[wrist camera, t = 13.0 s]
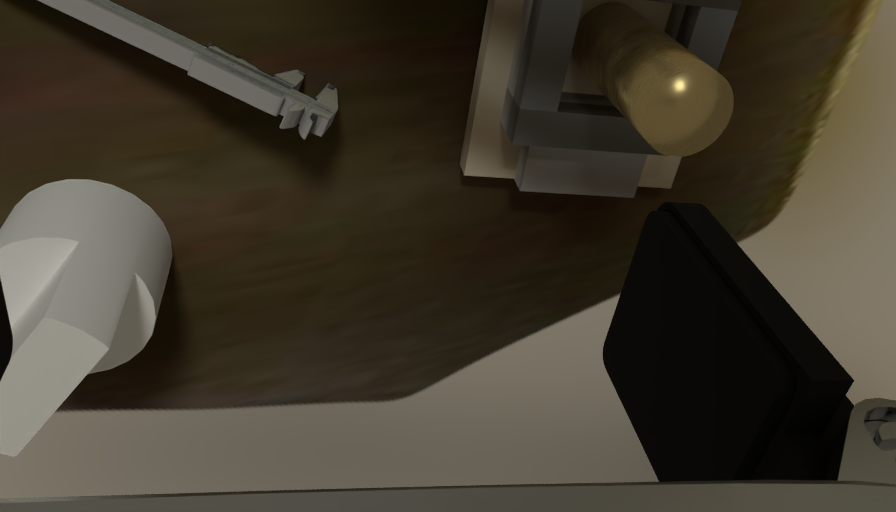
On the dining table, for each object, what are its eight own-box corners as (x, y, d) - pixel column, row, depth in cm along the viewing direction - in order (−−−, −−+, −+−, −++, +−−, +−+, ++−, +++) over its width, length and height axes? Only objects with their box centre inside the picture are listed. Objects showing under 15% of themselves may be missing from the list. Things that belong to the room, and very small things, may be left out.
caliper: (337, 83, 41) (341, 131, 36) (329, 100, 41) (332, 151, 36) (-90, -95, 34) (-163, -66, 28) (-94, -71, 34) (-166, -38, 29)
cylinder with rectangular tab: (56, 148, 40) (-25, 278, 31) (202, 235, 45) (172, 374, 35) (-24, 258, 43) (-121, 409, 34) (121, 330, 48) (72, 482, 38)
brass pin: (582, -3, 38) (660, 63, 30) (653, 7, 39) (747, 73, 31) (563, 72, 41) (631, 153, 32) (631, 80, 42) (714, 160, 33)
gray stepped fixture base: (515, -160, 35) (539, -149, 32) (761, -121, 38) (810, -107, 34) (459, 163, 45) (473, 201, 41) (661, 176, 47) (690, 213, 44)
